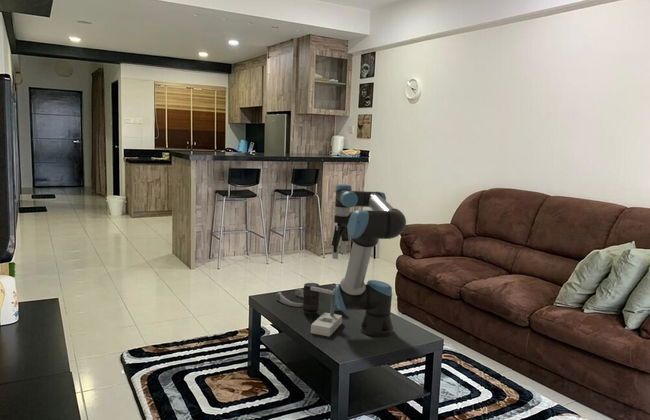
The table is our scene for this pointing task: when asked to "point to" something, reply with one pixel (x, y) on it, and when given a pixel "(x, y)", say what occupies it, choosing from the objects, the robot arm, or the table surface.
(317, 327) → the grey block with rod
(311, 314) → the camera lens
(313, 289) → the grey square bar
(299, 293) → the neck fan
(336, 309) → the plug
